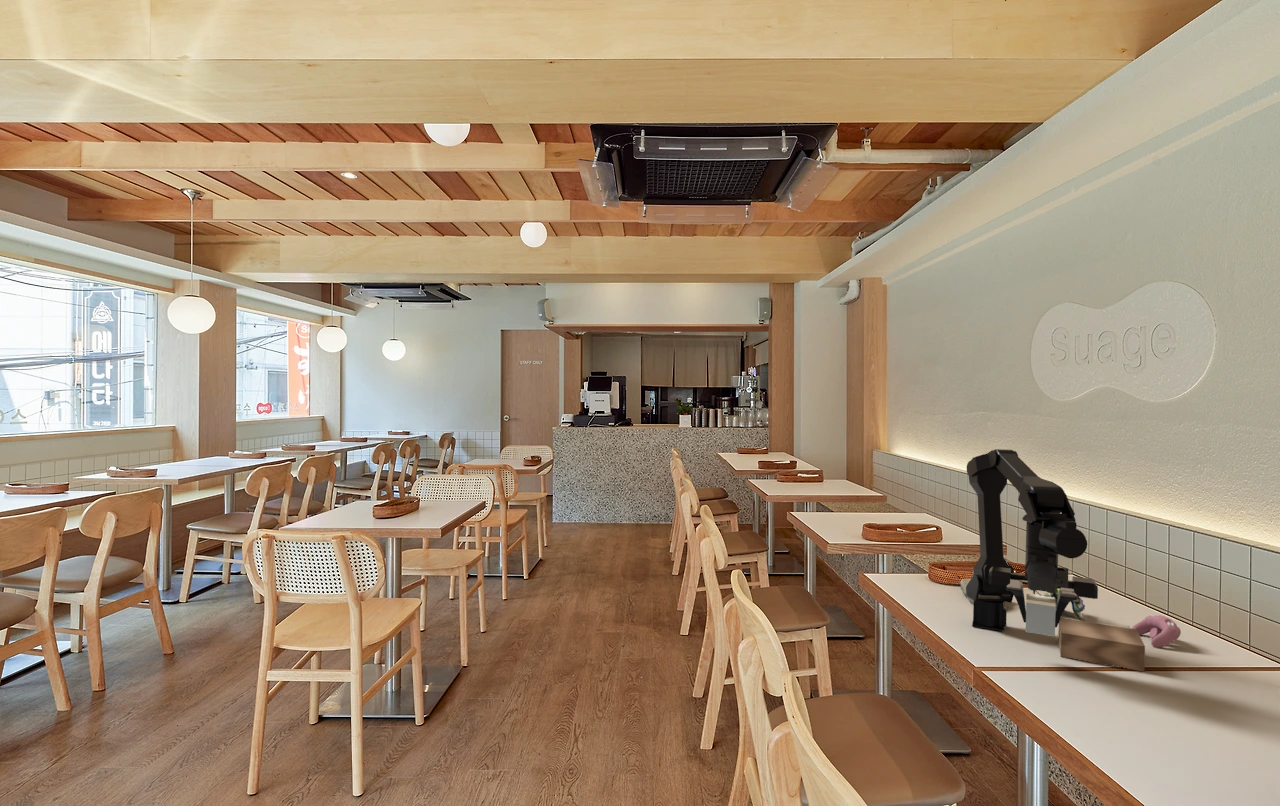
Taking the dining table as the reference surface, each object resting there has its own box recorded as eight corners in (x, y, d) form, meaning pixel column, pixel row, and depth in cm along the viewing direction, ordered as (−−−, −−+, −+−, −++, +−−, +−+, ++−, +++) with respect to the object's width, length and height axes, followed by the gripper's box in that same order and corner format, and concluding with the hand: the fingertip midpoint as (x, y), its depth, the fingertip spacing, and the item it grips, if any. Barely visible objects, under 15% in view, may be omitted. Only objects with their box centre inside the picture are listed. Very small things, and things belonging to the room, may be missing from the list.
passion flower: (1077, 640, 167) (1096, 609, 160) (1028, 626, 171) (1045, 596, 163) (1071, 604, 176) (1090, 574, 169) (1025, 592, 179) (1041, 562, 172)
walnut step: (1060, 656, 140) (1061, 632, 140) (1058, 640, 151) (1058, 617, 151) (1144, 671, 134) (1145, 646, 134) (1135, 652, 144) (1136, 629, 144)
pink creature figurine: (1172, 657, 147) (1189, 629, 146) (1151, 645, 147) (1168, 618, 147) (1147, 641, 156) (1163, 615, 156) (1127, 631, 157) (1143, 605, 156)
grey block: (1025, 631, 136) (1026, 599, 136) (1025, 625, 141) (1026, 593, 141) (1054, 636, 134) (1055, 603, 134) (1054, 629, 138) (1054, 597, 138)
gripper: (988, 548, 135) (986, 626, 135) (1101, 561, 125) (1099, 645, 125) (990, 539, 144) (988, 612, 144) (1096, 550, 135) (1094, 628, 135)
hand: (1040, 624), depth 137 cm, fingers closed on grey block, 5 cm apart
